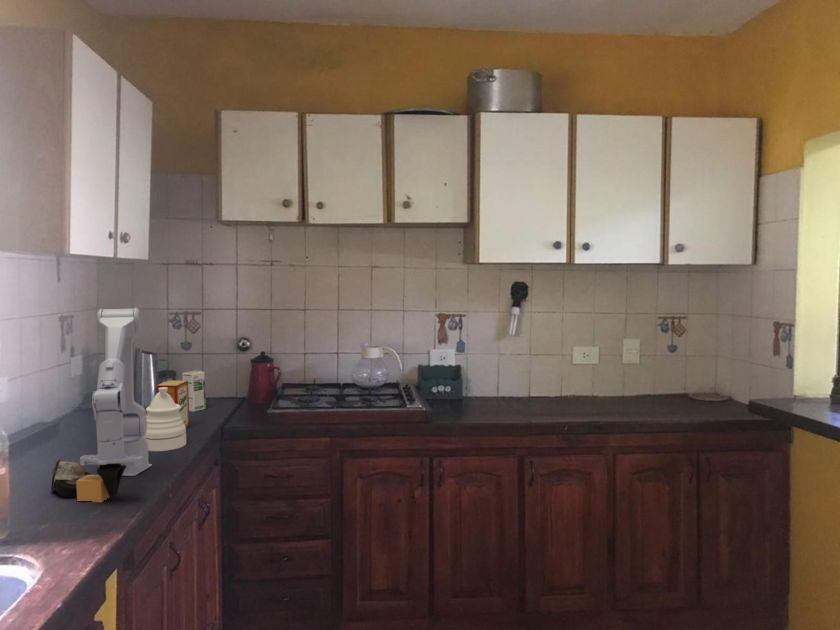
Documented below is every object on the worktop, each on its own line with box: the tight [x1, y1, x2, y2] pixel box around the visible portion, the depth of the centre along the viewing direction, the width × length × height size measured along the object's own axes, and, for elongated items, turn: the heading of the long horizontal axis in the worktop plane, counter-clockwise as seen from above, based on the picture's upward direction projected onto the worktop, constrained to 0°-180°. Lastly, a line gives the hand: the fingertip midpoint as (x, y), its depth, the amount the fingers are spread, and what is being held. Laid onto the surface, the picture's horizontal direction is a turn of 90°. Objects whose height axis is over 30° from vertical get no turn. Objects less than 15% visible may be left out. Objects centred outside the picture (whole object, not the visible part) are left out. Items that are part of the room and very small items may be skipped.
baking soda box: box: [156, 379, 191, 429], centre depth 226 cm, size 10×6×16 cm
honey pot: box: [144, 387, 187, 452], centre depth 206 cm, size 13×13×18 cm
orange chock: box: [76, 474, 111, 503], centre depth 160 cm, size 4×6×5 cm
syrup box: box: [182, 370, 207, 412], centre depth 255 cm, size 6×6×14 cm
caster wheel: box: [50, 456, 93, 498], centre depth 166 cm, size 7×11×10 cm
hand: (113, 495), depth 160 cm, fingers closed
